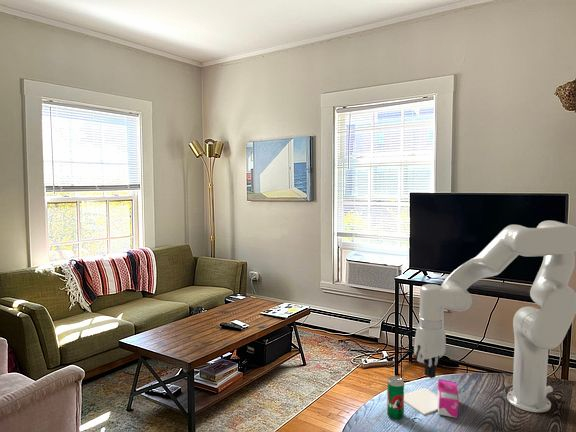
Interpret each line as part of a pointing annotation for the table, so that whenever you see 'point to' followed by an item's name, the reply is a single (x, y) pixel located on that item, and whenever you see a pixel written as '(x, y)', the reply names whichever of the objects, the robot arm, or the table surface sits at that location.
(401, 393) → the soda can
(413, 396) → the mat
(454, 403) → the supplement box
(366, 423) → the table surface
